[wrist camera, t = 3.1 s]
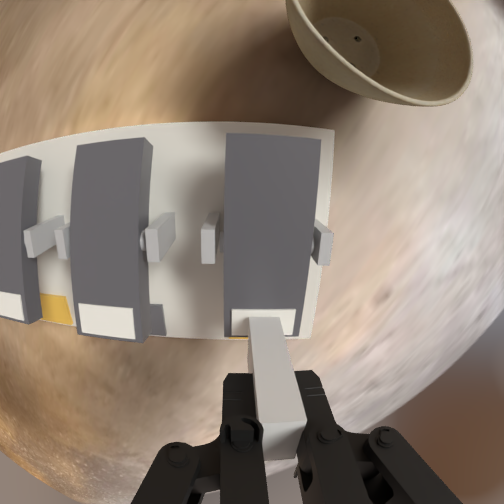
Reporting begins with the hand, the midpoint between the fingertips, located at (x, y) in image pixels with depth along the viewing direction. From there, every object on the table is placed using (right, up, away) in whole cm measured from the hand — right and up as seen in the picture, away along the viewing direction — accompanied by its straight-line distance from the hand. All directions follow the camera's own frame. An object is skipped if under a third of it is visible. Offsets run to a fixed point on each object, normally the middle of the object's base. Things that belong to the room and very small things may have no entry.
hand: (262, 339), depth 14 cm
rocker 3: (0, +5, -1) cm, 5 cm away
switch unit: (-8, +5, +3) cm, 10 cm away
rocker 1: (-16, +5, -2) cm, 17 cm away
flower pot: (+5, +18, 0) cm, 18 cm away
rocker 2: (-8, +5, -1) cm, 9 cm away
